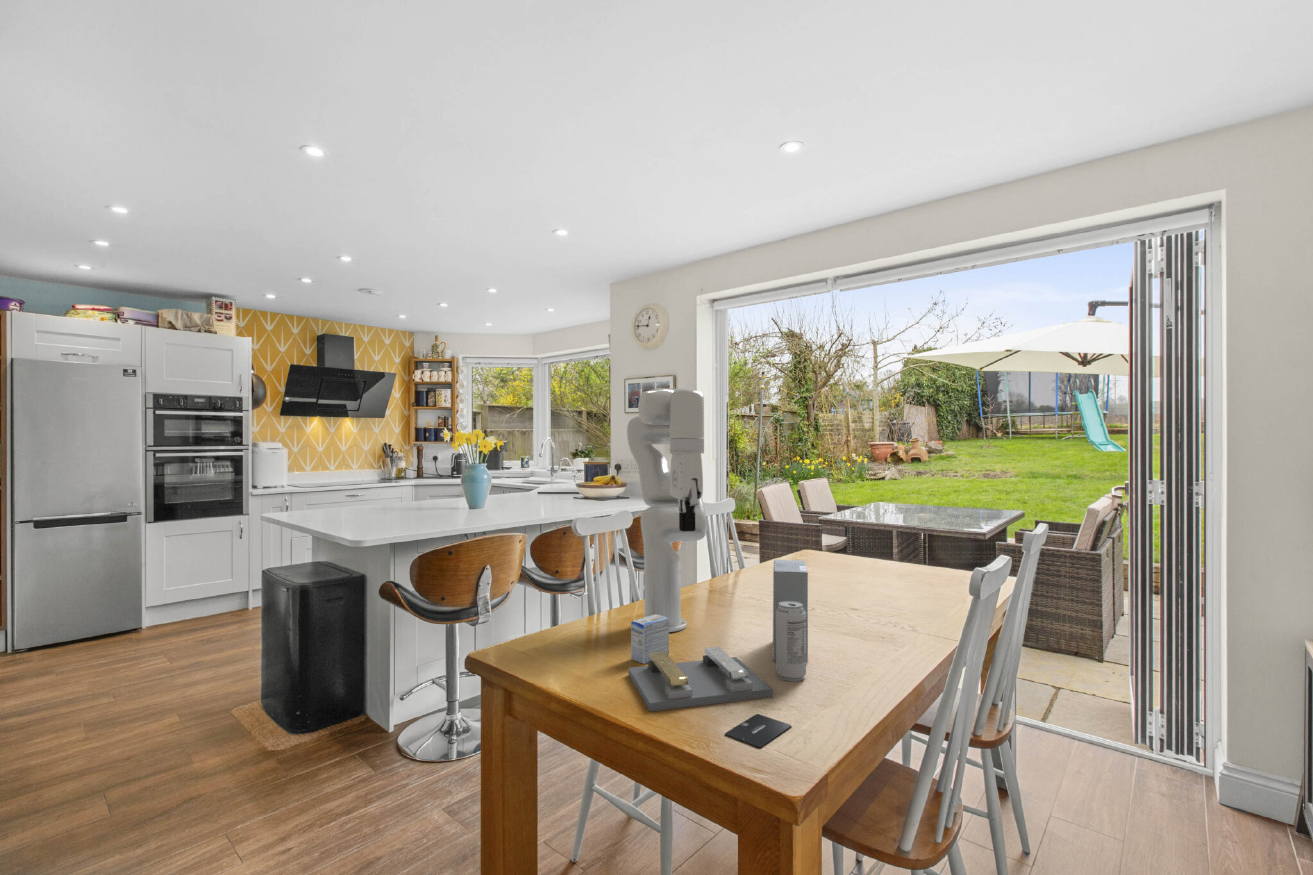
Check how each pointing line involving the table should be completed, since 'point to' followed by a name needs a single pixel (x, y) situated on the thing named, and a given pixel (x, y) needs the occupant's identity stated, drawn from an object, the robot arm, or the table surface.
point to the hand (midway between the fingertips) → (687, 530)
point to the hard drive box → (790, 590)
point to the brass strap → (669, 669)
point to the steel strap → (726, 663)
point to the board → (696, 685)
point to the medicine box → (649, 637)
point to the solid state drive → (758, 731)
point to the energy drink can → (791, 641)
